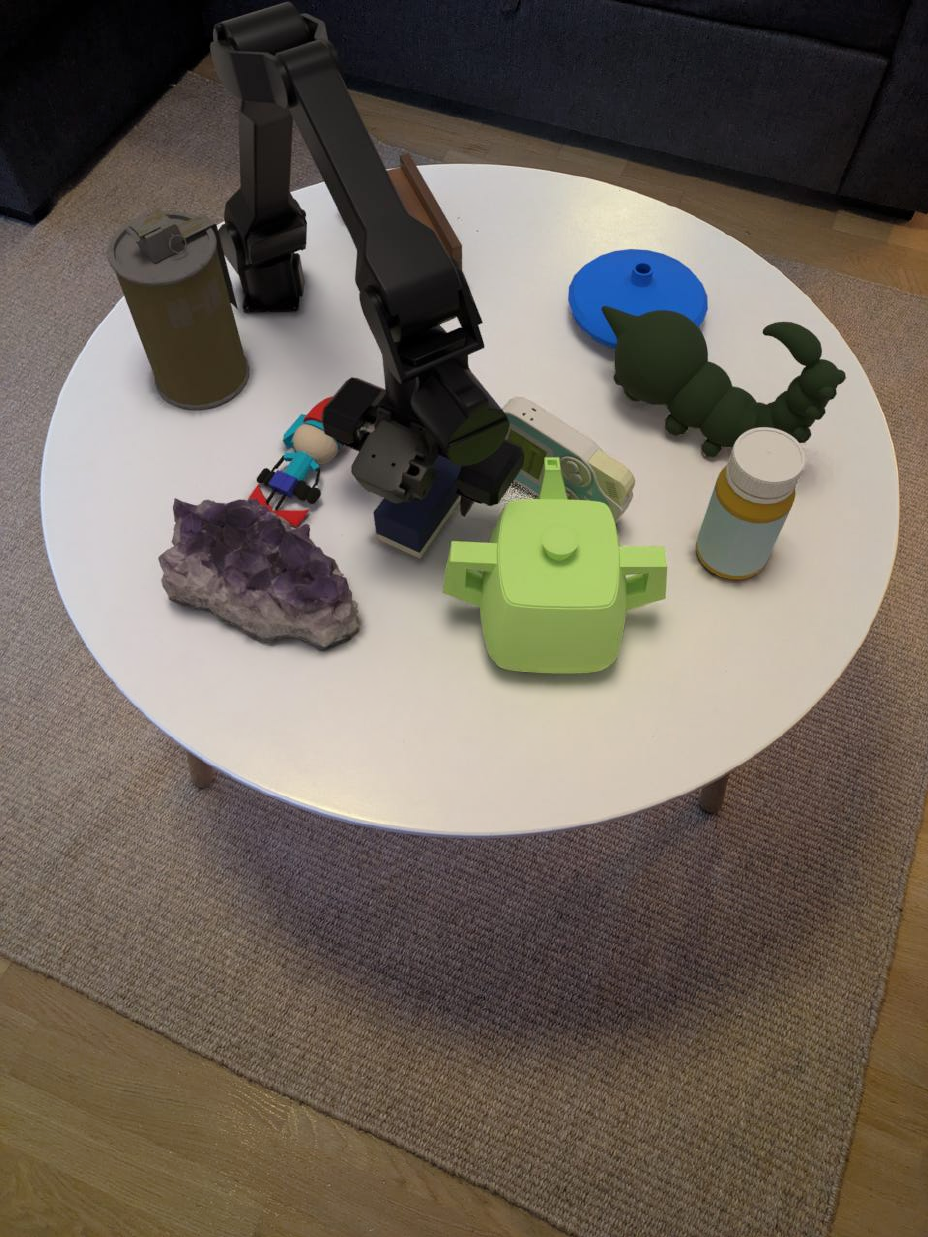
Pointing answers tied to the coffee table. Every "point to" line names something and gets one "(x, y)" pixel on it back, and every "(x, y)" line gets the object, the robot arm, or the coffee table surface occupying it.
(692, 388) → the green caterpillar figure
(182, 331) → the canister
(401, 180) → the sharpening stone holder
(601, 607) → the teapot
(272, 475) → the toy figure
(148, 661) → the coffee table surface
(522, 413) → the handheld gaming console
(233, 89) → the robot arm
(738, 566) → the bottle
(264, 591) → the geode
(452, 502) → the dark blue rectangular block
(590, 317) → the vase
